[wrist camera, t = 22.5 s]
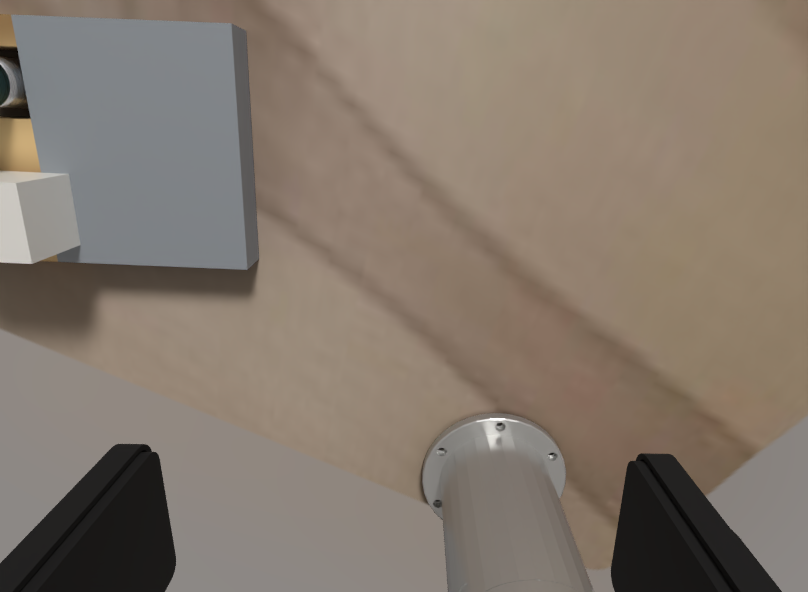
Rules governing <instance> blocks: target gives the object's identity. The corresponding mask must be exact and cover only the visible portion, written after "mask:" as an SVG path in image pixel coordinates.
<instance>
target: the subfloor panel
mask: <svg viewBox="0 0 808 592" xmlns="http://www.w3.org/2000/svg"><path fill="white" fill-rule="evenodd" d="M0 50H15V51H18V55H19V60H20V65H21V70H22V76H23V81H24V86H25V91H26V97H27V102H28V107H29V112H30V118H21V117H0V171H19V172H39V173H60V174H69V179H70V185H71V191H72V197H73V203H74V209H75V215H76V221H77V227H78V233H79V239H80V245H79V246H77V247H74V248H72V249H69V250H66V251H64V252H61V253H59V254H56V255H54V256H51V257H49V258H46V259H43V260H41V261H50V262H74V263H98V264H122V265H146V266H170V267H193V268H217V269H241V270H248V269H249V268H250V267H251V266H252V265H253V264H254V263H255V262H256V261H257V260H258V259H259V250H258V232H257V214H256V197H255V179H254V161H253V144H252V126H251V108H250V91H249V73H248V55H247V38H246V31H245V30H243V29H241V28H239V27H237V26H235V25H233V24H231V23H206V22H181V21H156V20H131V19H106V18H81V17H56V16H31V15H6V14H0Z"/></svg>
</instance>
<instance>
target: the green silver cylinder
mask: <svg viewBox="0 0 808 592" xmlns="http://www.w3.org/2000/svg"><path fill="white" fill-rule="evenodd" d="M0 108H29V107H28V102H27V97H26V91H25V86H24V81H23V76H22V70H21V65H20V60H19V59H15V58H8V57H0Z"/></svg>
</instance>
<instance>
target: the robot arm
mask: <svg viewBox="0 0 808 592" xmlns="http://www.w3.org/2000/svg"><path fill="white" fill-rule="evenodd" d="M565 482H566V469H565V463H564V459H563V457H562V454H561V452H560V449H559V448H558V446H557V444H556V443H555V441H554V439H553V438H552V437H551V436H550V435H549V434H548V433H547V432H546V431H545V430H544V429H543V428H541V427H540V426H538V425H537V424H536V423H534V422H532V421H529V420H527V419H525V418H523V417H519V416H515V415H511V414H502V413H490V414H481V415H477V416H473V417H469V418H466V419H464V420H462V421H459V422H457V423H455V424H454V425H452V426H451V427H449V428H448V429H446V430H445V431H444V432H443V433H442V434H441V435H439V436H438V437H437V438H436V439H435V441H434V442H433V444H432V445H431V447H430V448H429V450H428V452H427V455H426V457H425V459H424V464H423V470H422V483H423V489H424V494H425V496H426V499H427V501H428V504H429V505H430V507H431V508H432V509H433V511H434V512H435V513H436V514H437V515H438V516H439V517H440V518H441V519H442V520H443V528H444V540H445V541H444V542H445V556H446V569H447V584H448V592H594V590H593V587H592V585H591V582H590V579H589V577H588V574H587V571H586V569H585V566H584V563H583V561H582V558H581V555H580V553H579V550H578V547H577V545H576V542H575V539H574V537H573V534H572V531H571V529H570V526H569V524H568V521H567V518H566V516H565V513H564V510H563V508H562V505H561V502H560V500H559V499H560V497H561V496H562V493H563V490H564V486H565ZM175 566H176V556H175V549H174V544H173V537H172V531H171V526H170V519H169V513H168V507H167V501H166V495H165V490H164V483H163V477H162V471H161V465H160V459H159V456H158V454H157V453H156V452H152V451H151V449H150V447H149V446H148V445H145V444H117V445H115V446H113V447H112V448H111V449H110V450H109V451H108V452H107V453H106V454H105V455H104V456H103V457H102V459H101V460H99V462H98V463H97V464H96V465H95V466H94V467H93V468H92V469H91V470H90V471H89V472H88V473H87V474H86V475H85V476H84V477H83V478H82V479H81V480H80V481H79V482H78V483H77V484H76V485H75V487H74V488H73V489H72V490H71V491H70V492H69V493H68V494H67V495H66V496H65V497H64V498H63V499H62V500H61V501H60V502H59V503H58V504H57V505H56V506H55V507H54V508H53V509H52V511H50V512H49V513H48V514H47V515H46V517H45V518H44V519H43V520H42V521H41V522H40V523H39V524H38V525H37V526H36V527H35V528H34V529H33V530H32V531H31V532H30V533H29V534H28V535H27V536H26V537H25V538H24V539H23V540H22V541H21V542H20V543H19V545H18V546H17V547H16V548H15V549H14V550H13V551H12V552H11V553H10V554H9V555H8V556H7V557H6V558H5V559H4V560H3V561H2V562H1V563H0V592H165V590H166V588H167V587H168V585H169V583H170V581H171V579H172V577H173V574H174V571H175ZM611 578H612V584H613V587H614V590H615V592H782V591H781V590H780V589H779V587H778V586H777V585H776V584H775V582H774V581H773V580H772V579H771V577H770V576H769V575H768V573H767V572H766V571H765V570H764V568H763V567H762V566H761V565H760V563H759V562H758V561H757V559H756V558H755V557H754V556H753V554H752V553H751V552H750V551H749V549H748V548H747V547H746V546H745V545H744V543H743V542H742V541H741V539H740V538H739V537H738V536H737V535H736V534H735V533H734V532H733V531H732V530H731V529H730V528H729V526H728V525H727V524H726V523H725V521H724V520H723V519H722V517H721V516H720V515H719V514H718V512H717V511H716V510H715V508H714V507H713V506H712V504H711V503H710V502H709V501H708V499H707V498H706V497H705V496H704V494H703V493H702V492H701V490H700V489H699V488H698V487H697V485H696V484H695V483H694V481H693V480H692V479H691V478H690V476H689V475H688V474H687V472H686V471H685V470H684V469H683V467H682V466H681V465H680V464H679V462H678V461H677V460H676V458H675V457H674V456H673V455H670V454H639V455H638V457H637V458H636V461H630V462H629V463H628V466H627V471H626V477H625V484H624V490H623V496H622V503H621V509H620V515H619V522H618V528H617V534H616V540H615V547H614V553H613V559H612V566H611Z"/></svg>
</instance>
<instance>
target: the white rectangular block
mask: <svg viewBox="0 0 808 592" xmlns="http://www.w3.org/2000/svg"><path fill="white" fill-rule="evenodd" d="M79 245H80V239H79V233H78V227H77V221H76V215H75V209H74V203H73V197H72V191H71V185H70V179H69V174H60V173H39V172H19V171H0V262H2V263H22V264H33V263H36V262H38V261H41V260H43V259H46V258H49V257H51V256H54V255H56V254H59V253H61V252H64V251H66V250H69V249H72V248H74V247H77V246H79Z"/></svg>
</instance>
